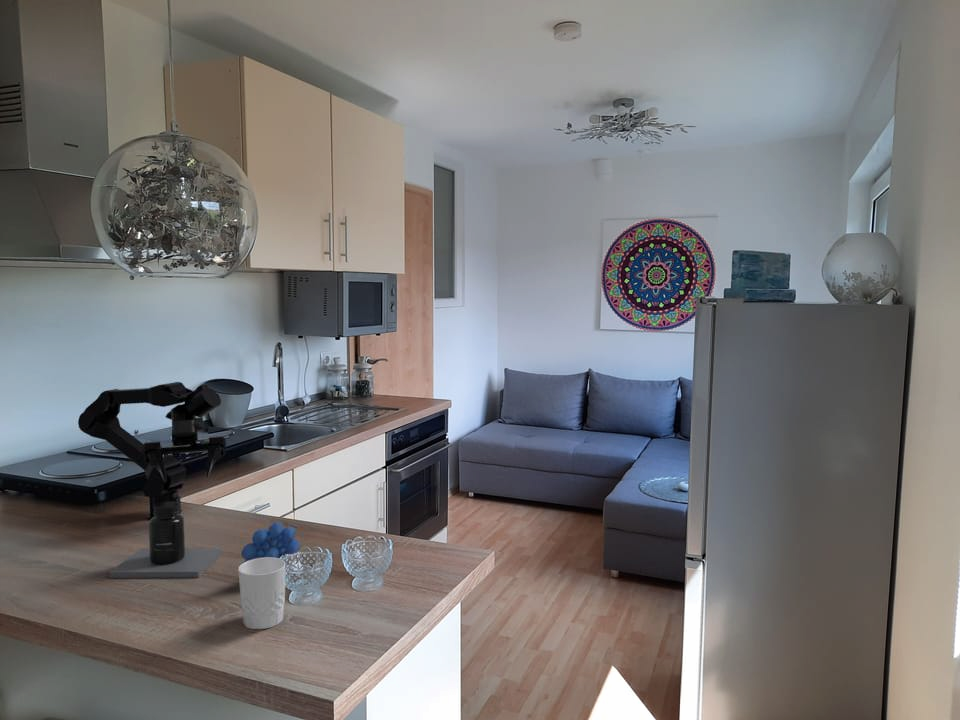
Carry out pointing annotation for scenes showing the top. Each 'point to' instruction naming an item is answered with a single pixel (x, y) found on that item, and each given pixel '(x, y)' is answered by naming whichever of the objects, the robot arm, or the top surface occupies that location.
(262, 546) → the grapes
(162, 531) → the supplement bottle
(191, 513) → the top surface
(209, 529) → the top surface
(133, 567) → the board
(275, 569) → the white cup
